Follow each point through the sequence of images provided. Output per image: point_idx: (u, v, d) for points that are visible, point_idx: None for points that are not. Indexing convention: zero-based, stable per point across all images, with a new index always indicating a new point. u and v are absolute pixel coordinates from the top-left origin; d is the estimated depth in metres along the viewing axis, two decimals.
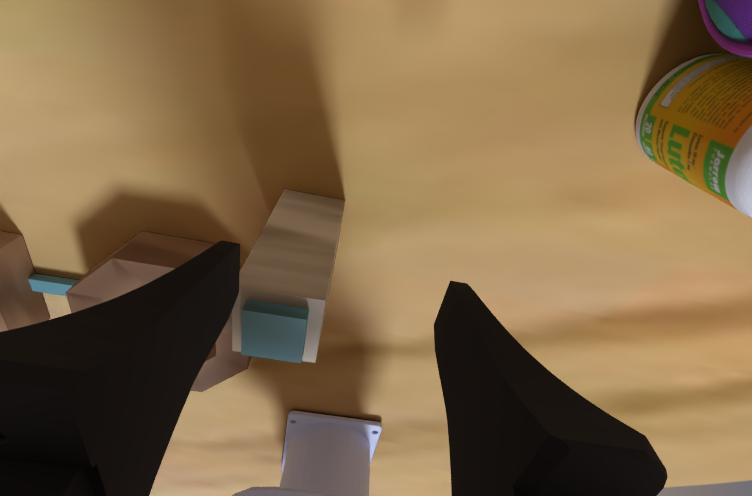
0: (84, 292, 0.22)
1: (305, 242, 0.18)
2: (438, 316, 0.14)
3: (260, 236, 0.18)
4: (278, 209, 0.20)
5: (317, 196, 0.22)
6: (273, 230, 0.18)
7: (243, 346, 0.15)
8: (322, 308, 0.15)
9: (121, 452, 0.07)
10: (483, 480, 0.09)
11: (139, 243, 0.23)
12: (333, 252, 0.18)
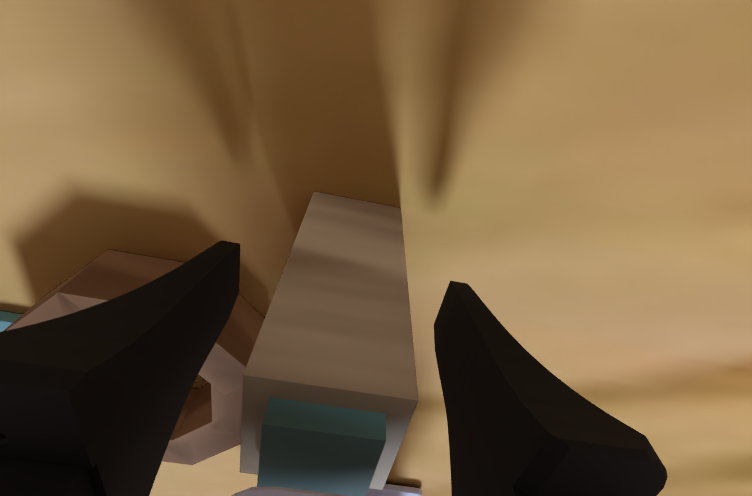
0: None
1: (360, 278, 0.11)
2: (438, 316, 0.14)
3: (286, 268, 0.11)
4: (309, 222, 0.13)
5: (361, 202, 0.15)
6: (306, 257, 0.11)
7: (261, 478, 0.08)
8: (410, 412, 0.08)
9: (121, 452, 0.07)
10: (483, 480, 0.09)
11: (102, 268, 0.16)
12: (406, 295, 0.11)
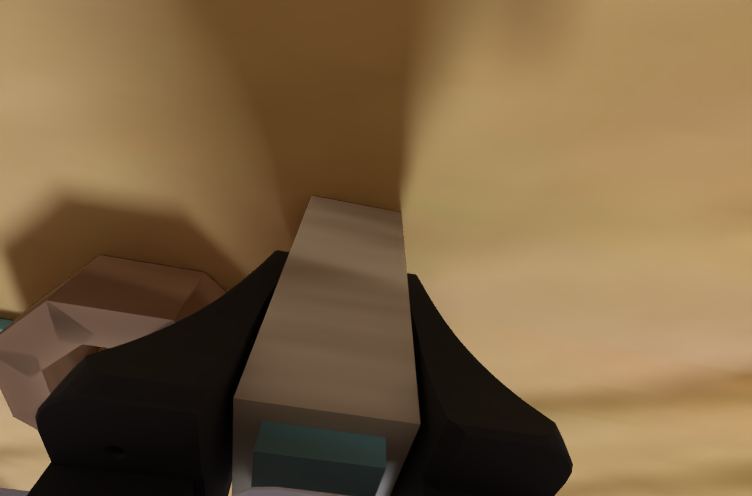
0: (9, 348, 0.15)
1: (359, 288, 0.10)
2: None
3: (282, 278, 0.10)
4: (306, 228, 0.13)
5: (360, 206, 0.15)
6: (303, 266, 0.11)
7: None
8: (412, 436, 0.08)
9: (217, 464, 0.07)
10: (405, 470, 0.08)
11: (93, 274, 0.15)
12: (407, 306, 0.10)
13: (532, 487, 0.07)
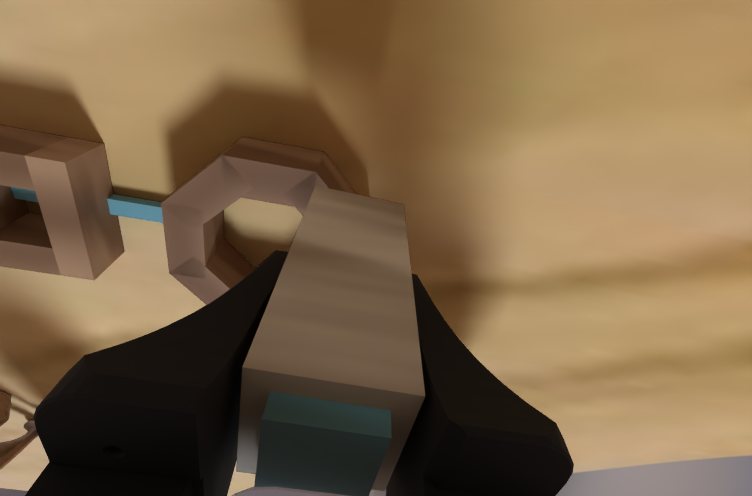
0: (183, 202, 0.19)
1: (363, 272, 0.11)
2: None
3: (288, 260, 0.10)
4: (311, 215, 0.13)
5: (364, 197, 0.15)
6: (308, 249, 0.11)
7: (259, 477, 0.08)
8: (417, 409, 0.08)
9: (215, 464, 0.07)
10: (406, 470, 0.08)
11: (245, 146, 0.19)
12: (411, 290, 0.10)
13: (533, 487, 0.07)
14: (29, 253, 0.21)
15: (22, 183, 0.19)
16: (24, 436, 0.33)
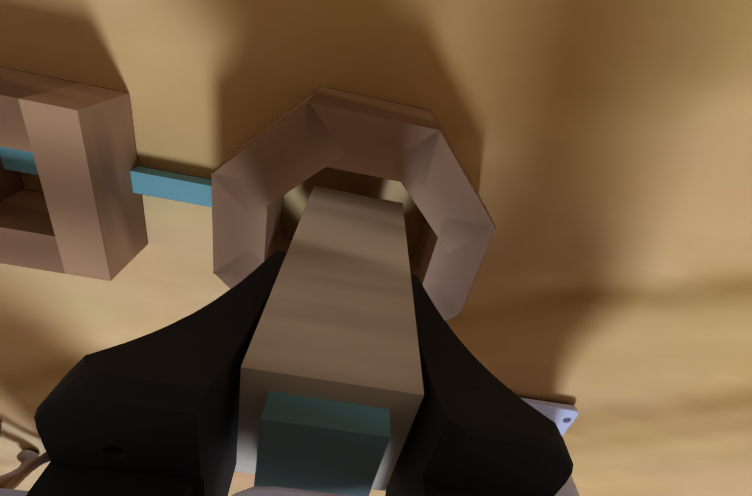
0: (242, 173, 0.14)
1: (362, 271, 0.11)
2: None
3: (286, 260, 0.10)
4: (309, 215, 0.13)
5: (362, 197, 0.15)
6: (307, 249, 0.11)
7: (259, 477, 0.08)
8: (416, 408, 0.08)
9: (216, 464, 0.07)
10: (405, 470, 0.08)
11: (331, 96, 0.14)
12: (410, 288, 0.10)
13: (532, 487, 0.07)
14: (23, 243, 0.15)
15: (14, 141, 0.13)
16: (17, 470, 0.27)
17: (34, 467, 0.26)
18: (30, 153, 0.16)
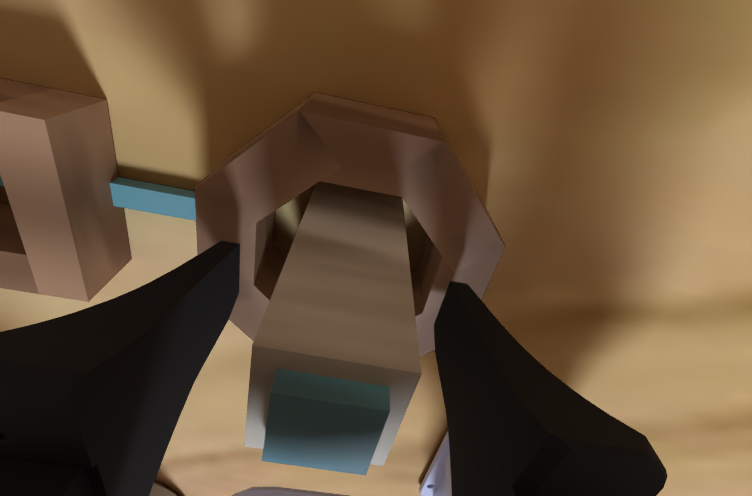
0: (229, 188, 0.12)
1: (363, 261, 0.11)
2: (438, 316, 0.14)
3: (292, 249, 0.11)
4: (313, 208, 0.13)
5: (364, 191, 0.15)
6: (311, 240, 0.12)
7: (267, 449, 0.09)
8: (413, 385, 0.08)
9: (121, 452, 0.07)
10: (483, 480, 0.09)
11: (325, 103, 0.13)
12: (409, 278, 0.11)
13: None
14: None
15: None
16: None
17: None
18: None
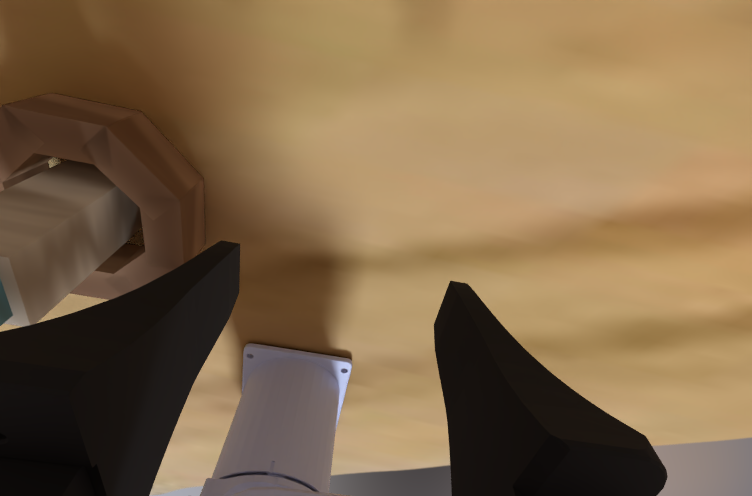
0: None
1: (45, 204, 0.17)
2: (438, 316, 0.14)
3: None
4: (45, 173, 0.19)
5: None
6: (17, 191, 0.17)
7: None
8: (9, 266, 0.14)
9: (121, 452, 0.07)
10: (483, 480, 0.09)
11: (44, 100, 0.19)
12: (71, 215, 0.17)
13: None
14: None
15: None
16: None
17: None
18: None
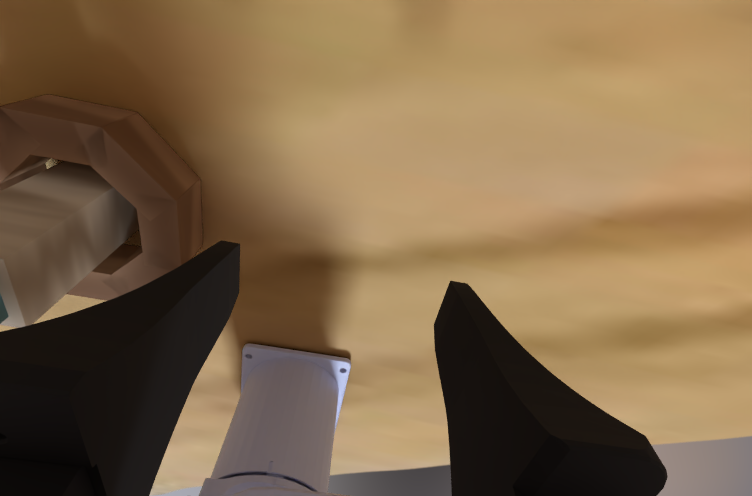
0: None
1: (41, 205, 0.17)
2: (438, 316, 0.14)
3: None
4: (42, 174, 0.19)
5: None
6: (13, 193, 0.17)
7: None
8: (4, 267, 0.14)
9: (121, 452, 0.07)
10: (483, 480, 0.09)
11: (41, 101, 0.19)
12: (66, 216, 0.17)
13: None
14: None
15: None
16: None
17: None
18: None
